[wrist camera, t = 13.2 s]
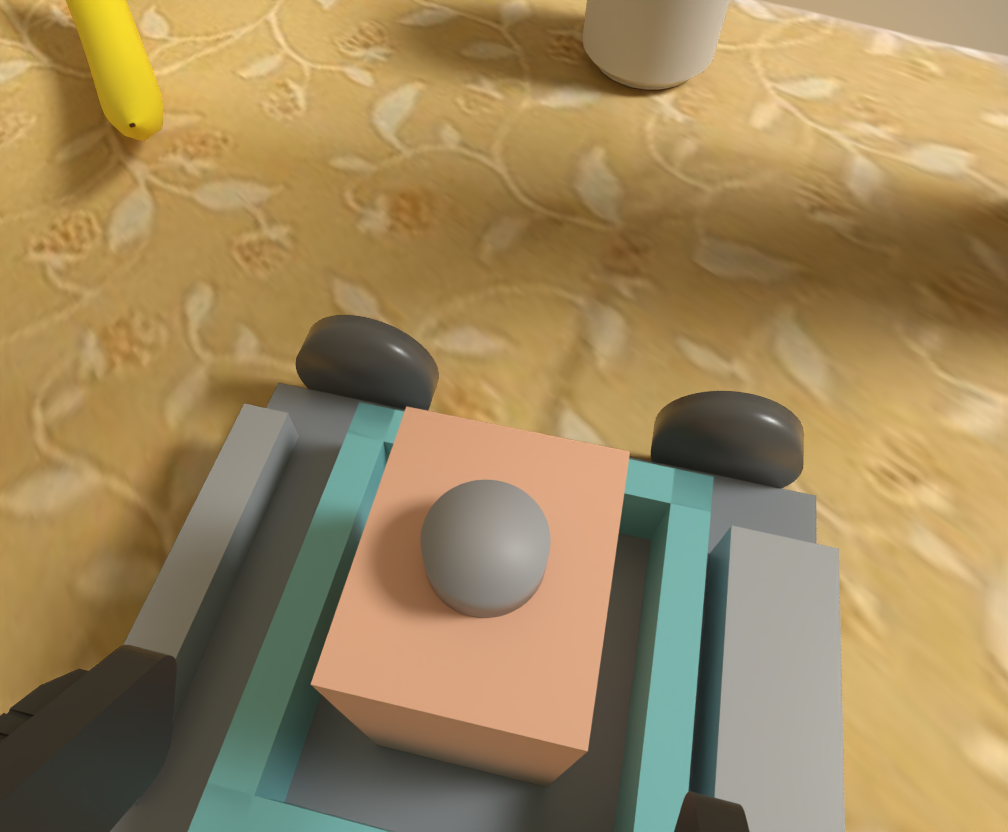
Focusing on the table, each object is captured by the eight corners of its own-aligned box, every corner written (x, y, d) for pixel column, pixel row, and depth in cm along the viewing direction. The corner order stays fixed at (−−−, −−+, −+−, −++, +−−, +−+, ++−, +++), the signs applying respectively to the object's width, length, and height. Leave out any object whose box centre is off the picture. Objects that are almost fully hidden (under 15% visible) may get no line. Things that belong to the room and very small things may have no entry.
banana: (144, 225, 33) (77, 102, 27) (78, 16, 41) (18, -109, 36) (207, 207, 34) (154, 84, 28) (129, 5, 42) (77, -119, 37)
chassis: (299, 379, 28) (266, 297, 24) (799, 484, 27) (860, 415, 22) (46, 924, 19) (-79, 948, 15) (794, 1146, 17) (897, 1247, 13)
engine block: (431, 550, 23) (401, 381, 15) (580, 583, 23) (639, 427, 14) (376, 744, 20) (297, 673, 12) (547, 786, 20) (595, 744, 11)
